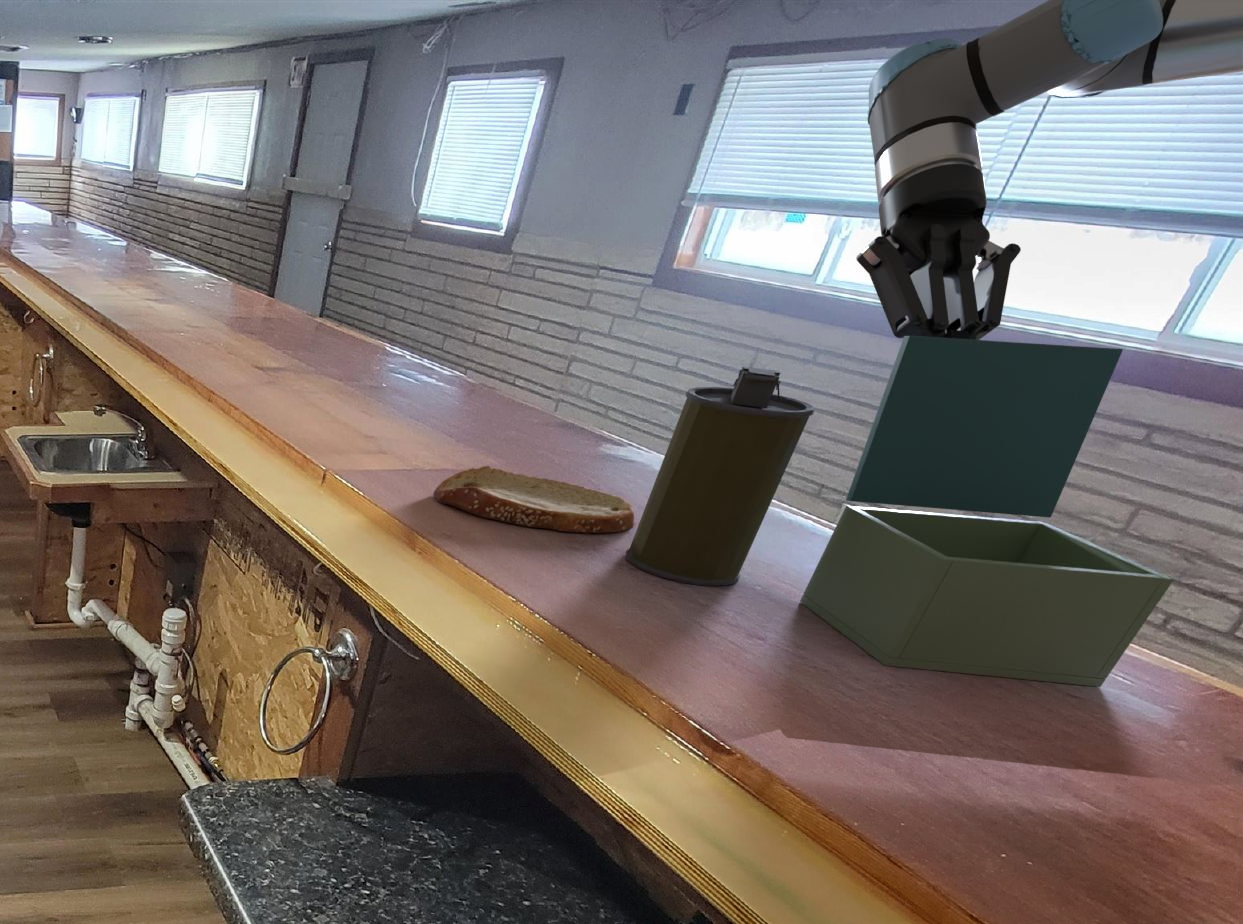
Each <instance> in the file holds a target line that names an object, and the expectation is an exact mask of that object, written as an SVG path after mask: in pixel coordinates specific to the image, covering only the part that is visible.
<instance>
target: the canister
mask: <svg viewBox="0 0 1243 924" xmlns="http://www.w3.org/2000/svg"><path fill="white" fill-rule="evenodd" d="M780 375H781V371H780V370H773V369H765V368H758V367H750V366H742V367H741V369H739V371H738V376H737V378H736V379H735V380H734V383H733V384H732V386H733V387H720V386H698V387H697V386H696V387H692V388H689V389H688V390H687V391H686V393H685V397H686V399H685V401H684V405H683V407H682V409H681V412H680V415H679V417H678V421H677V423H676V426H675V428H674V431H673V434H672V436H671V438H670V441H669V444H668V446H667V449H666V452H665V455H664V457H663V460H662V462H661V465H660V468H659V469H658V473H657V475H656V478H655V481H654V484H653V487H652V489H651V491H650V494H649V497H648V500H647V502H646V504H645V507H644V510H643V512H642V515H641V518H640V521H639V523H638V526H637V528H636V531H635V534H634V536H633V538H632V540H631V541H632V542H631V544H630V547H629V548H627V549H626V551H625V559H626V560H627V561H628V562H629V563H631V564H632V565H633V566H635V567H636V568H637V569H639V570H642V571H644V572H646V573H649V574H652V575H654V576H657V577H660V578H664V579H667V580H670V581H675V582H678V583H683V584H689V585H695V586H704V587H708V586H709V587H714V586H715V587H716V586H719V587H720V586H731V585H733V584H735V583H737V582H738V581H739V580H740V579H741V571H742V569H743V566H744V564H745V561H746V559H747V557H748V555H749V553H750V550H751V548H752V545H753V544H754V542H755V539H756V537H757V534H758V532H759V530H760V528H761V525H762V523H763V521H764V519H765V516H766V515H767V512H768V510H769V508H770V506H771V504H772V501H773V499H774V496H775V494H776V492H777V490H778V488H779V486H780V483H781V481H782V479H783V476H784V475H785V472H786V470H787V467H788V465H789V463H790V461H791V458H792V457H793V454H794V452H795V450H796V447H797V445H798V443H799V441H800V438H801V436H802V434H803V432H804V429H805V428H806V426H807V424H808V420H809V418H810V416H813V415H814V413H815V411H816V409H815V407H814V406H813V405H811V404H810V403H808V402H805V401H803V400H799V399H796V398H793V397H789V396H784V395H780V385H781V381H780V378H781V377H780ZM775 390H776V391H777V394H775V393H774V392H775Z"/></svg>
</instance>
